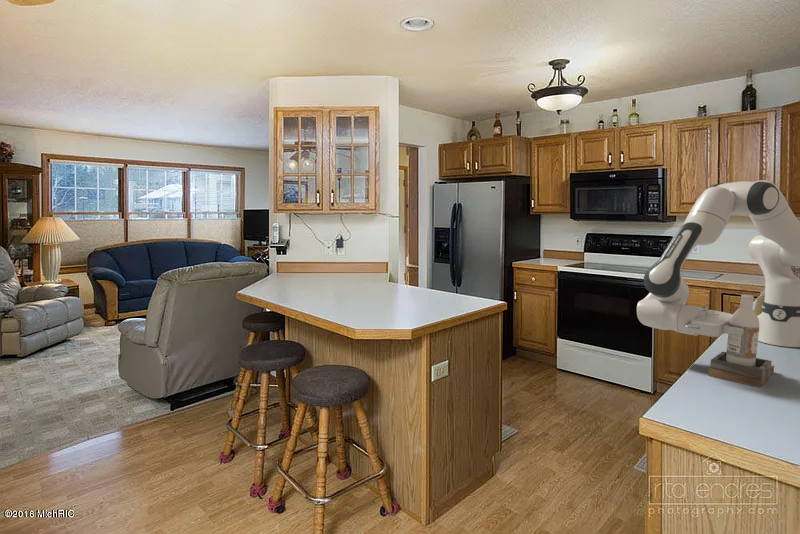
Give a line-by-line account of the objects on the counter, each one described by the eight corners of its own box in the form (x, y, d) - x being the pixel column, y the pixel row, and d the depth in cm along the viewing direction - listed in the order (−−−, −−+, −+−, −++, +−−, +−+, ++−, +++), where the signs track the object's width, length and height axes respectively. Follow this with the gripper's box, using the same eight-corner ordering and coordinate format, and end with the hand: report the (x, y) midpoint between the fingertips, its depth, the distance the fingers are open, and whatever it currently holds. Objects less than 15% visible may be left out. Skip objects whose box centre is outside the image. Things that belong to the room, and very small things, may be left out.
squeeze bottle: (747, 324, 200) (751, 281, 198) (765, 324, 201) (769, 281, 199) (763, 329, 192) (767, 284, 190) (781, 328, 193) (786, 284, 191)
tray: (725, 362, 150) (727, 348, 149) (773, 372, 141) (775, 357, 141) (708, 375, 138) (709, 360, 137) (759, 387, 129) (761, 371, 128)
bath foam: (748, 369, 133) (756, 298, 130) (721, 362, 139) (728, 294, 136) (759, 364, 137) (767, 296, 134) (732, 358, 143) (738, 292, 140)
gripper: (682, 315, 139) (739, 324, 128) (704, 305, 152) (757, 313, 142) (680, 336, 139) (736, 346, 129) (702, 325, 153) (755, 334, 143)
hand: (747, 329), depth 136 cm, fingers closed on bath foam, 7 cm apart
